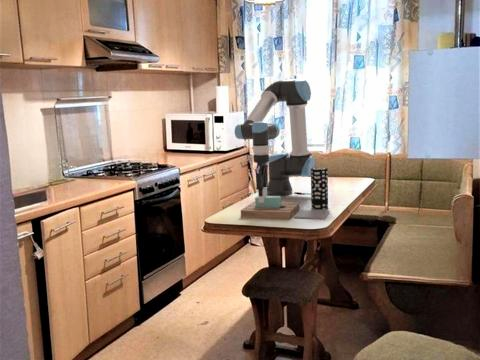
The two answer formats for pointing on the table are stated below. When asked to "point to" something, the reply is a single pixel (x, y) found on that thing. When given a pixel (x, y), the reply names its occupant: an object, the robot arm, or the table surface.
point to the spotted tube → (319, 188)
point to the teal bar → (269, 202)
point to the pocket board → (271, 211)
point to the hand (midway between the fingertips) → (262, 201)
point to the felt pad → (312, 214)
